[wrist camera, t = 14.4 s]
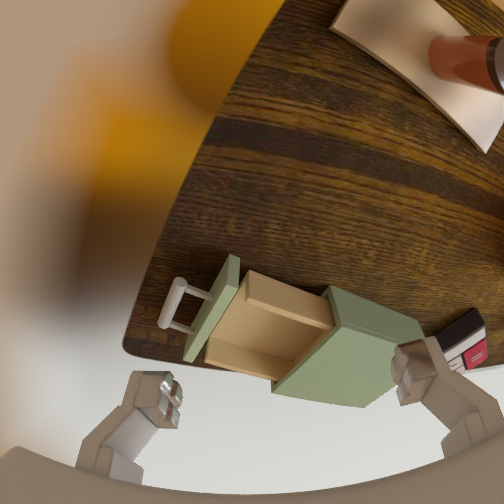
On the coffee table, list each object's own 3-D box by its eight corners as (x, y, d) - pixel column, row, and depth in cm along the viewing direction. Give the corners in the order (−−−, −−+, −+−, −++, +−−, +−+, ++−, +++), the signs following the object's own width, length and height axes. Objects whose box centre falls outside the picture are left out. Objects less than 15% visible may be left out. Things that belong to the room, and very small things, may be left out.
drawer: (157, 318, 36) (148, 348, 32) (190, 237, 30) (180, 266, 26) (292, 361, 41) (294, 389, 37) (350, 301, 34) (359, 331, 30)
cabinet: (269, 353, 41) (271, 392, 36) (329, 284, 34) (341, 326, 29) (356, 374, 45) (363, 408, 40) (417, 319, 38) (433, 354, 33)
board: (327, 29, 19) (332, 26, 18) (370, -38, 14) (376, -43, 13) (477, 149, 24) (485, 154, 23) (509, 90, 19) (518, 93, 18)
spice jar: (420, 61, 19) (486, 68, 11) (439, 26, 16) (506, 24, 9) (454, 92, 20) (520, 113, 12) (472, 58, 17) (539, 70, 10)
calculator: (443, 387, 44) (429, 364, 38) (436, 370, 48) (420, 342, 41) (490, 358, 40) (487, 326, 33) (481, 341, 44) (476, 306, 37)
